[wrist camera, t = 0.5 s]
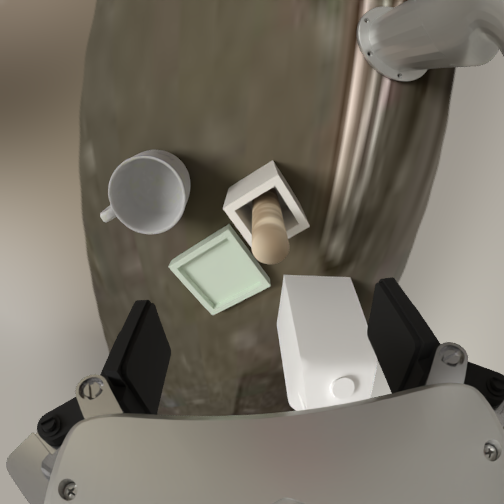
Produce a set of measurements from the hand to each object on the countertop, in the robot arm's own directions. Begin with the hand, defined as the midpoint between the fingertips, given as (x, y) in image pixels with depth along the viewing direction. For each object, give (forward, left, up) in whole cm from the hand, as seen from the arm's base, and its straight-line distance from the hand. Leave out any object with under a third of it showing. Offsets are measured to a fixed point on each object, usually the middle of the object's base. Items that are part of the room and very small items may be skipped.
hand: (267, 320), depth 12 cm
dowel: (+2, +5, -32) cm, 32 cm away
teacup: (+15, -6, -33) cm, 36 cm away
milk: (+5, +26, -33) cm, 42 cm away
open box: (+2, +5, -32) cm, 33 cm away
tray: (+15, +12, -32) cm, 37 cm away
